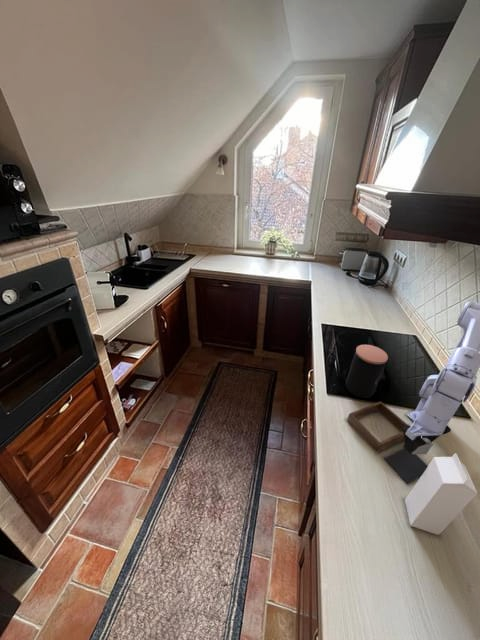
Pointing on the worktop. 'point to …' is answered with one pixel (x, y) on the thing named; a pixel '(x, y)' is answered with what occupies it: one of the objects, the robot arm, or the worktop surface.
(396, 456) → the mat
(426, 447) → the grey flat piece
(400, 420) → the brown wooden tray
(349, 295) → the worktop surface
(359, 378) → the coffee jar
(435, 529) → the milk
